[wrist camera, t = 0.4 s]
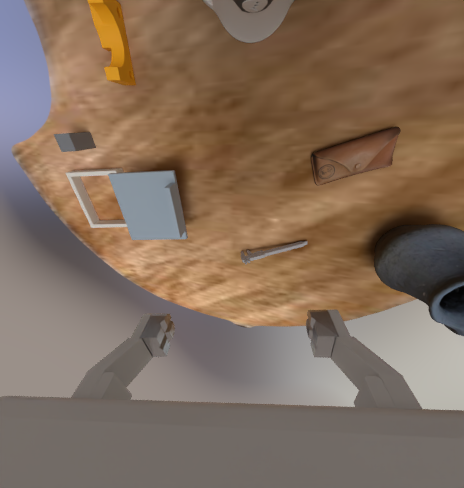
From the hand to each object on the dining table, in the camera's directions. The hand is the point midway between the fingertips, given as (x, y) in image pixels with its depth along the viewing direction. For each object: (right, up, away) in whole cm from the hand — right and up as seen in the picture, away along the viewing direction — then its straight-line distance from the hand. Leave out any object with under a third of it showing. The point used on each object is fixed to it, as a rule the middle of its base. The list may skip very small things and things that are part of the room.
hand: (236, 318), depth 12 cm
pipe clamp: (-24, +45, +29) cm, 58 cm away
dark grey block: (-37, +31, +39) cm, 62 cm away
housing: (-36, +18, +46) cm, 61 cm away
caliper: (+13, +4, +52) cm, 54 cm away
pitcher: (+49, +5, +48) cm, 69 cm away
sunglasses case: (+29, +24, +38) cm, 54 cm away
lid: (-20, +13, +37) cm, 44 cm away
